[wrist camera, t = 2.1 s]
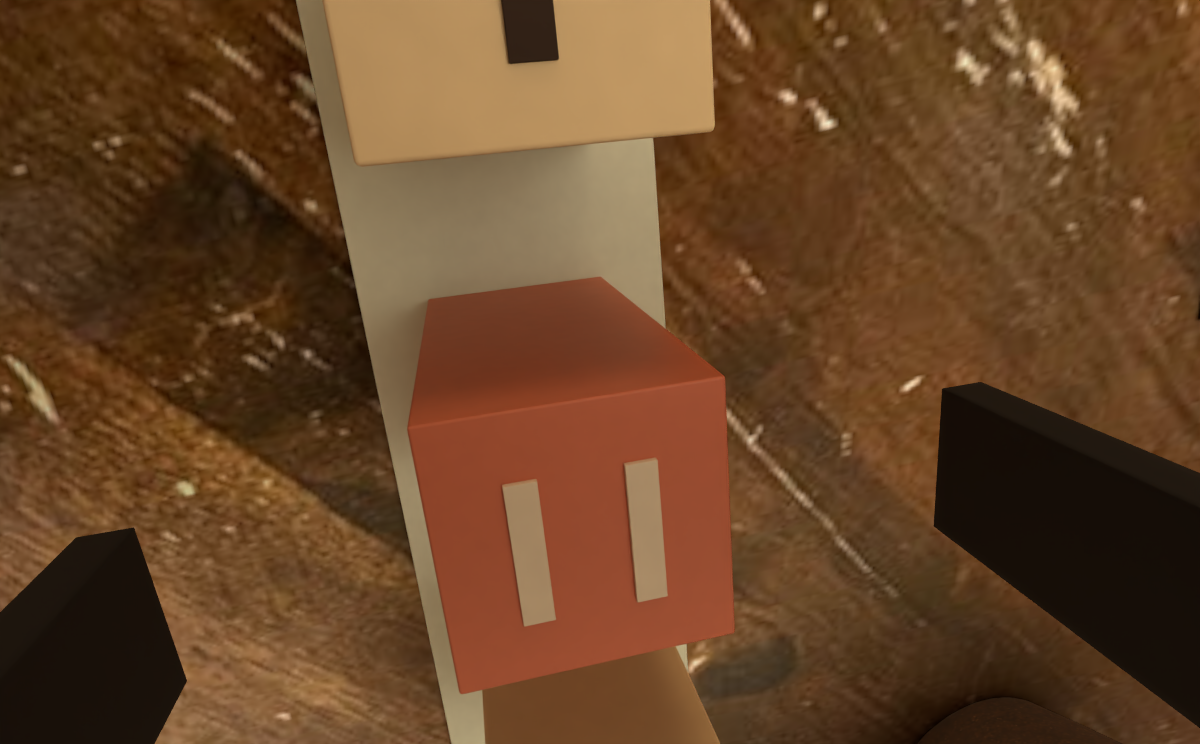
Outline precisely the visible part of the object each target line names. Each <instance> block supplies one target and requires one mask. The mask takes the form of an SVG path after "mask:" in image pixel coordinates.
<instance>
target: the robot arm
mask: <svg viewBox="0 0 1200 744" xmlns="http://www.w3.org/2000/svg"><path fill="white" fill-rule="evenodd" d="M934 527H936V528H937V529H938V530H939V531H941V532H942V533H943V534H945V535H946V536H947V537H949V538H950V539H951V540H953V541H954V542H955V543H957V544H958V545H959V546H961V547H962V548H963V549H965V550H966V551H967V552H968V553H970V554H971V555H972V556H974V557H975V558H976V559H978V560H979V561H980V562H982V563H983V564H984V565H986V566H987V567H988V568H990V569H991V570H992V571H994V572H995V573H996V574H997V575H999V576H1000V577H1001V578H1003V579H1004V580H1005V581H1007V582H1008V583H1009V584H1011V585H1012V586H1013V587H1015V588H1016V589H1017V590H1019V591H1020V592H1021V593H1023V594H1024V595H1025V596H1026V597H1028V598H1029V599H1030V600H1032V601H1033V602H1034V603H1036V604H1037V605H1038V606H1040V607H1041V608H1042V609H1044V610H1045V611H1046V612H1048V613H1049V614H1050V615H1052V616H1053V617H1054V618H1055V619H1057V620H1058V621H1059V622H1061V623H1062V624H1063V625H1065V626H1066V627H1067V628H1069V629H1070V630H1071V631H1073V632H1074V633H1075V634H1077V635H1078V636H1079V637H1081V638H1082V639H1083V640H1084V641H1086V642H1087V643H1088V644H1090V645H1091V646H1092V647H1094V648H1095V649H1096V650H1098V651H1099V652H1100V653H1102V654H1103V655H1104V656H1106V657H1107V658H1108V659H1110V660H1111V661H1112V662H1113V663H1115V664H1116V665H1117V666H1119V667H1120V668H1121V669H1123V670H1124V671H1125V672H1127V673H1128V674H1129V675H1131V676H1132V677H1133V678H1135V679H1136V680H1137V681H1139V682H1140V683H1141V684H1142V685H1144V686H1145V687H1146V688H1148V689H1149V690H1150V691H1152V692H1153V693H1154V694H1156V695H1157V696H1158V697H1160V698H1161V699H1162V700H1164V701H1165V702H1166V703H1168V704H1169V705H1170V706H1171V707H1173V708H1174V709H1175V710H1177V711H1178V712H1179V713H1181V714H1182V715H1183V716H1185V717H1186V718H1187V719H1189V720H1190V721H1191V722H1193V723H1194V724H1195V725H1197V726H1198V727H1199V728H1200V473H1198V472H1196V471H1193V470H1191V469H1188V468H1186V467H1184V466H1181V465H1179V464H1176V463H1174V462H1172V461H1169V460H1167V459H1164V458H1162V457H1160V456H1157V455H1155V454H1152V453H1150V452H1148V451H1145V450H1143V449H1140V448H1138V447H1136V446H1133V445H1131V444H1128V443H1126V442H1124V441H1121V440H1119V439H1116V438H1114V437H1112V436H1109V435H1107V434H1104V433H1102V432H1100V431H1097V430H1095V429H1092V428H1090V427H1088V426H1085V425H1083V424H1080V423H1078V422H1076V421H1073V420H1071V419H1068V418H1066V417H1064V416H1061V415H1059V414H1056V413H1054V412H1052V411H1049V410H1047V409H1044V408H1042V407H1040V406H1037V405H1035V404H1032V403H1030V402H1028V401H1025V400H1023V399H1020V398H1018V397H1016V396H1013V395H1011V394H1008V393H1006V392H1004V391H1001V390H999V389H996V388H994V387H991V386H989V385H987V384H984V383H982V382H978V383H972V384H967V385H961V386H955V387H949V388H943V389H942V401H941V417H940V433H939V450H938V466H937V482H936V499H935V515H934ZM186 682H187V679H186V677H185V674H184V671H183V668H182V665H181V662H180V659H179V656H178V653H177V651H176V648H175V645H174V642H173V639H172V636H171V633H170V630H169V627H168V625H167V622H166V619H165V616H164V613H163V610H162V607H161V604H160V601H159V599H158V596H157V593H156V590H155V587H154V584H153V581H152V578H151V575H150V573H149V570H148V567H147V564H146V561H145V558H144V555H143V552H142V549H141V547H140V544H139V541H138V538H137V535H136V532H135V529H134V528H129V529H123V530H117V531H111V532H105V533H100V534H94V535H88V536H82V537H76V538H75V539H74V540H73V541H72V542H71V543H70V544H69V545H68V546H67V547H66V548H65V549H64V550H63V551H62V552H61V553H60V554H59V555H58V556H57V557H56V558H55V559H54V560H53V561H52V562H51V563H50V564H49V565H48V566H47V567H46V568H45V569H44V570H43V571H42V572H41V573H40V574H39V575H38V576H37V577H36V578H35V579H34V580H33V581H32V582H31V583H30V584H29V585H28V586H27V587H26V588H25V589H24V590H23V591H22V592H21V593H20V594H19V595H17V596H16V597H15V598H14V599H13V600H12V601H11V602H10V603H9V604H8V605H7V606H6V607H5V608H4V609H3V610H2V611H1V612H0V744H154V743H155V742H156V740H157V738H158V736H159V734H160V732H161V730H162V728H163V726H164V724H165V722H166V720H167V718H168V716H169V715H170V713H171V711H172V709H173V707H174V705H175V703H176V701H177V699H178V697H179V695H180V693H181V691H182V689H183V688H184V686H185V684H186Z"/></svg>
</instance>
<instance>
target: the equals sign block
mask: <svg viewBox="0 0 1200 744" xmlns="http://www.w3.org/2000/svg"><path fill="white" fill-rule="evenodd" d="M407 432H408V437H409V442H410V447H411V452H412V457H413V462H414V467H415V472H416V477H417V482H418V487H419V492H420V497H421V502H422V507H423V512H424V517H425V522H426V527H427V532H428V537H429V542H430V547H431V552H432V558H433V563H434V568H435V573H436V578H437V583H438V588H439V593H440V598H441V603H442V608H443V613H444V618H445V623H446V628H447V633H448V638H449V643H450V648H451V653H452V658H453V663H454V668H455V673H456V678H457V683H458V689H459V692H460V694H466V693H471V692H475V691H479V690H484V689H488V688H493V687H497V686H502V685H506V684H511V683H515V682H519V681H524V680H528V679H533V678H537V677H542V676H546V675H550V674H555V673H559V672H564V671H568V670H573V669H577V668H581V667H586V666H590V665H595V664H599V663H604V662H608V661H612V660H617V659H621V658H626V657H630V656H635V655H639V654H644V653H648V652H652V651H657V650H661V649H666V648H670V647H675V646H679V645H683V644H688V643H692V642H697V641H701V640H706V639H710V638H714V637H719V636H723V635H728V634H732V633H734V632H735V625H734V599H733V573H732V547H731V521H730V495H729V468H728V442H727V416H726V390H725V377H724V375H722V374H721V373H720V372H719V371H717V370H716V369H715V368H714V367H712V366H711V365H710V364H709V363H707V362H706V361H705V360H704V359H702V358H701V357H700V356H699V355H697V354H696V353H695V352H694V351H693V350H691V349H690V348H689V347H688V346H686V345H685V344H684V343H683V342H681V341H680V340H679V339H678V338H676V337H675V336H674V335H673V334H671V333H670V332H669V331H668V330H666V329H665V328H664V327H663V326H662V325H660V324H659V323H658V322H657V321H655V320H654V319H653V318H652V317H650V316H649V315H648V314H647V313H645V312H644V311H643V310H642V309H640V308H639V307H638V306H637V305H635V304H634V303H633V302H632V301H631V300H629V299H628V298H627V297H626V296H624V295H623V294H622V293H621V292H619V291H618V290H617V289H616V288H614V287H613V286H612V285H611V284H609V283H608V282H607V281H606V280H604V279H603V278H602V277H593V278H586V279H578V280H571V281H563V282H555V283H548V284H540V285H533V286H525V287H517V288H510V289H502V290H495V291H487V292H479V293H472V294H464V295H457V296H449V297H442V298H434V299H429V300H428V305H427V311H426V317H425V323H424V329H423V335H422V341H421V347H420V353H419V360H418V366H417V372H416V378H415V384H414V390H413V396H412V402H411V408H410V414H409V421H408V427H407Z"/></svg>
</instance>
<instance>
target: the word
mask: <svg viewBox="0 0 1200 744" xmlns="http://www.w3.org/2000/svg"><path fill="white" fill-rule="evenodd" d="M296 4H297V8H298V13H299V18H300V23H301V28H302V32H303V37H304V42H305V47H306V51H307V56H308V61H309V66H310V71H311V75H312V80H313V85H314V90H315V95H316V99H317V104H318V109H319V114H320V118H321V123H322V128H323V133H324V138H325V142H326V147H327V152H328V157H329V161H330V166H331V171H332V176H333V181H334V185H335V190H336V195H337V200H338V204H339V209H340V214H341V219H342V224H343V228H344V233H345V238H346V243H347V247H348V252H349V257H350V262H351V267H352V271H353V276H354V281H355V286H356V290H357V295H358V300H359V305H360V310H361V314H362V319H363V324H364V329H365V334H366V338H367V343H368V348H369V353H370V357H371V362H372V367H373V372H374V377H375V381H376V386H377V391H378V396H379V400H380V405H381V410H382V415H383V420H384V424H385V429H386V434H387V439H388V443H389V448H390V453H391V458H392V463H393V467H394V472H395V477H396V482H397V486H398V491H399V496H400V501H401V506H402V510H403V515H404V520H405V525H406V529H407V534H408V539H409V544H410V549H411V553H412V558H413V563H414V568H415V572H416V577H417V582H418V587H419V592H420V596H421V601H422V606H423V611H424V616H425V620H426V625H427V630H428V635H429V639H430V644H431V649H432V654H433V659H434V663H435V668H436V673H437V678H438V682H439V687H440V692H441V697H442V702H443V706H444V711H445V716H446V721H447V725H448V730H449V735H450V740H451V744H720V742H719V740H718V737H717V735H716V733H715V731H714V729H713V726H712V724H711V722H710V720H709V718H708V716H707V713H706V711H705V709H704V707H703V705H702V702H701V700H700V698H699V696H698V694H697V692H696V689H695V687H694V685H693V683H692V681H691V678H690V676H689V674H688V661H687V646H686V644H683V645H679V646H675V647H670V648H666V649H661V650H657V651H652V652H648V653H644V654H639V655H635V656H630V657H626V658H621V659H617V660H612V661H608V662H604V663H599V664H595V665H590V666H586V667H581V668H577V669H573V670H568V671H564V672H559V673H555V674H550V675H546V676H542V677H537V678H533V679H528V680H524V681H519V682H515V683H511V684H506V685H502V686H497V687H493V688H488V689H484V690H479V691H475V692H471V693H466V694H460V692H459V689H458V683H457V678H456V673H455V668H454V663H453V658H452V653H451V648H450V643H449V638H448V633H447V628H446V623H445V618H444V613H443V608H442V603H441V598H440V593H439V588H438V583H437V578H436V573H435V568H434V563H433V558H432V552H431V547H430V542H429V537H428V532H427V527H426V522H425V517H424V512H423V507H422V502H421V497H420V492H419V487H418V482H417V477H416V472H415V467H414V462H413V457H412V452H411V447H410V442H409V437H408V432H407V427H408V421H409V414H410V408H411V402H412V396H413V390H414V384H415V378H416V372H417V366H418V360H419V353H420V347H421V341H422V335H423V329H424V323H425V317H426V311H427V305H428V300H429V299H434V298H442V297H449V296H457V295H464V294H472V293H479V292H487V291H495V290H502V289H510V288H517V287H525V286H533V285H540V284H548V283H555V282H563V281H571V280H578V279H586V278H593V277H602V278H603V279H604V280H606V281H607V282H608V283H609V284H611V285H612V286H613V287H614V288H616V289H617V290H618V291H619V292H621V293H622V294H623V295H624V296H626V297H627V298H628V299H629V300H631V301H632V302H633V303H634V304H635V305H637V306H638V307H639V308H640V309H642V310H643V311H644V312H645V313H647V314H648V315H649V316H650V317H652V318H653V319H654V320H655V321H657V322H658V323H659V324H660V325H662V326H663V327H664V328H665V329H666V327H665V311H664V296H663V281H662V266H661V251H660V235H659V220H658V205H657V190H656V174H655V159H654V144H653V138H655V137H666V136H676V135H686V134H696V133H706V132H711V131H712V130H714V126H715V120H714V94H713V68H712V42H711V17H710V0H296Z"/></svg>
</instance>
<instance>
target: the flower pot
mask: <svg viewBox="0 0 1200 744" xmlns="http://www.w3.org/2000/svg"><path fill="white" fill-rule="evenodd" d="M917 744H1121V743H1119V742H1117V741H1115V740H1113V739H1111V738H1109V737H1107V736H1105V735H1102V734H1100V733H1098V732H1096V731H1094V730H1092V729H1090V728H1088V727H1085V726H1083V725H1081V724H1079V723H1077V722H1074V721H1072V720H1070V719H1068V718H1066V717H1063V716H1061V715H1059V714H1057V713H1054V712H1052V711H1050V710H1048V709H1045V708H1043V707H1041V706H1039V705H1036V704H1034V703H1032V702H1030V701H1027V700H1023V699H1018V698H1011V697H1003V698H991V699H987V700H983V701H980V702H976V703H973V704H971V705H968V706H966V707H964V708H962V709H960V710H958V711H956V712H955V713H953V714H951V715H949V716H948V717H946V718H945V719H944V720H942V721H941V722H940V723H938V724H937V725H936V726H934V727H933V728H932V729H931V730H930V731H929V732H928V733H926V734H925V735H924V736H923V738H922V739H921V740H920V741H919V742H918V743H917Z"/></svg>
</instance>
